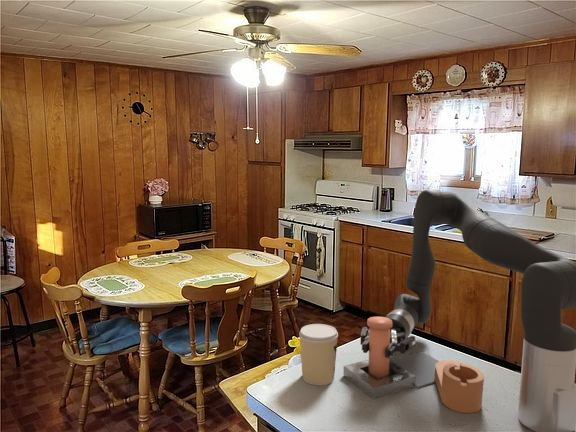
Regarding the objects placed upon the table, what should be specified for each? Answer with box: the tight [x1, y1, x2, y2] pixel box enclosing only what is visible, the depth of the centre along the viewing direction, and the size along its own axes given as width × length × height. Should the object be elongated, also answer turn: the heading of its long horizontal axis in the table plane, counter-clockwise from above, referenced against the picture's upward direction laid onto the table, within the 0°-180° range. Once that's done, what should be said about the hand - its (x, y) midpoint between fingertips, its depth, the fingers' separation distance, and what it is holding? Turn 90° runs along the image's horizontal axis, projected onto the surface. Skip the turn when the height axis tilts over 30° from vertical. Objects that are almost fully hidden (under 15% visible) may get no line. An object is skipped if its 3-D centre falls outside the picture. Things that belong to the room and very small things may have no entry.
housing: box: [343, 359, 415, 399], centre depth 109 cm, size 12×12×2 cm
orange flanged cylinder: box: [366, 316, 392, 380], centre depth 108 cm, size 6×6×15 cm
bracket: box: [435, 359, 485, 414], centre depth 104 cm, size 18×8×7 cm, turn 170°
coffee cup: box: [298, 323, 339, 386], centre depth 110 cm, size 9×9×12 cm
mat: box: [389, 351, 440, 389], centre depth 115 cm, size 14×14×1 cm
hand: (375, 351), depth 106 cm, fingers closed on orange flanged cylinder, 4 cm apart
